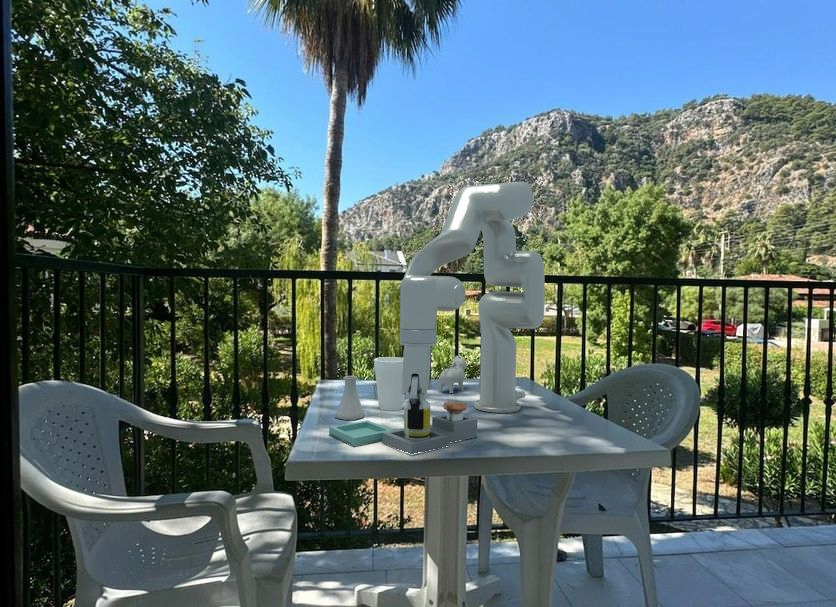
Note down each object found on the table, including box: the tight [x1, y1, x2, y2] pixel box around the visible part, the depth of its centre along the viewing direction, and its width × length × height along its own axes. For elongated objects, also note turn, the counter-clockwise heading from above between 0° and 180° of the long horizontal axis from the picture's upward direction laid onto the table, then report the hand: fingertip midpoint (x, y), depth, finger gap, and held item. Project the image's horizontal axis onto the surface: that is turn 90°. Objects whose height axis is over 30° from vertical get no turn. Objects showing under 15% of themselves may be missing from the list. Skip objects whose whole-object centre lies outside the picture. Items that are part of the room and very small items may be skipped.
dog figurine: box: [438, 355, 468, 393], centre depth 164 cm, size 5×13×11 cm, turn 147°
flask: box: [334, 375, 365, 421], centre depth 129 cm, size 7×7×10 cm
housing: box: [381, 413, 478, 454], centre depth 110 cm, size 19×10×4 cm, turn 129°
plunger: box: [443, 400, 467, 422], centre depth 114 cm, size 5×5×7 cm
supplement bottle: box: [403, 390, 431, 442], centre depth 108 cm, size 5×5×10 cm
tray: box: [328, 420, 394, 447], centre depth 112 cm, size 10×10×2 cm
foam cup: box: [373, 356, 406, 412], centre depth 139 cm, size 10×9×13 cm
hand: (417, 423), depth 108 cm, fingers closed on supplement bottle, 5 cm apart
